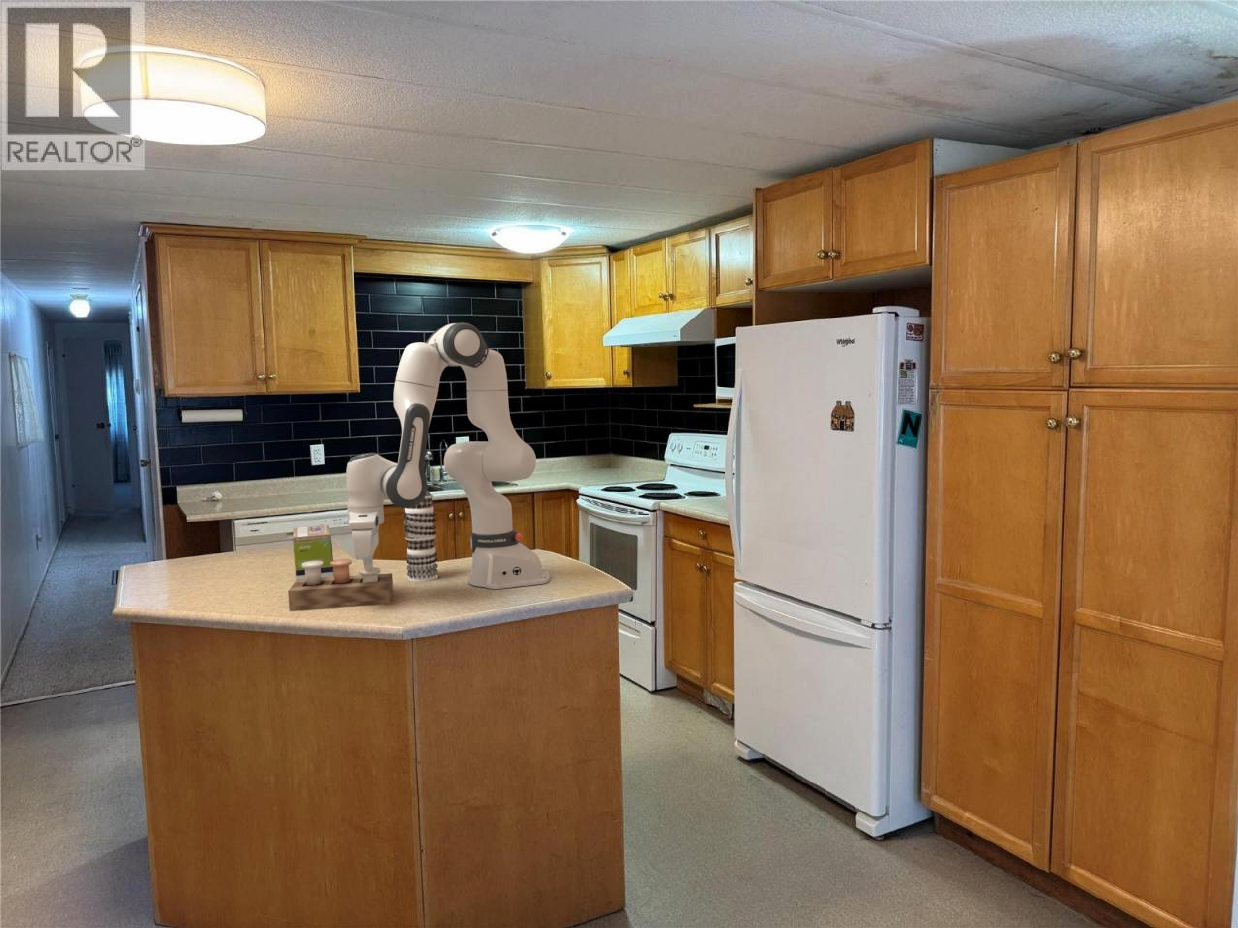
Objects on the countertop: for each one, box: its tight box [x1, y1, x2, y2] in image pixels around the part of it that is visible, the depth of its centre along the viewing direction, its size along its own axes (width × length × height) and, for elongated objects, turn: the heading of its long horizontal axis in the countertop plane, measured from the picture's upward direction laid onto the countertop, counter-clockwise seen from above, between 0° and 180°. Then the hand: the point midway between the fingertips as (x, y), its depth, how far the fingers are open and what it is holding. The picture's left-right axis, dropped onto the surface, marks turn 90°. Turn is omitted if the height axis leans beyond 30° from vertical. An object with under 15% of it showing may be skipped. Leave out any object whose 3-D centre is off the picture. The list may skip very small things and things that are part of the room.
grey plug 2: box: [358, 567, 381, 583], centre depth 216 cm, size 5×5×5 cm
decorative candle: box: [402, 490, 439, 583], centre depth 236 cm, size 9×9×25 cm
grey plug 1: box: [302, 561, 323, 585], centre depth 213 cm, size 5×5×5 cm
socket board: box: [287, 572, 394, 611], centre depth 215 cm, size 24×12×5 cm, turn 100°
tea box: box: [292, 524, 334, 582], centre depth 236 cm, size 15×10×15 cm, turn 21°
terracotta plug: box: [330, 558, 353, 583], centre depth 215 cm, size 5×5×5 cm
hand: (368, 569), depth 216 cm, fingers closed
